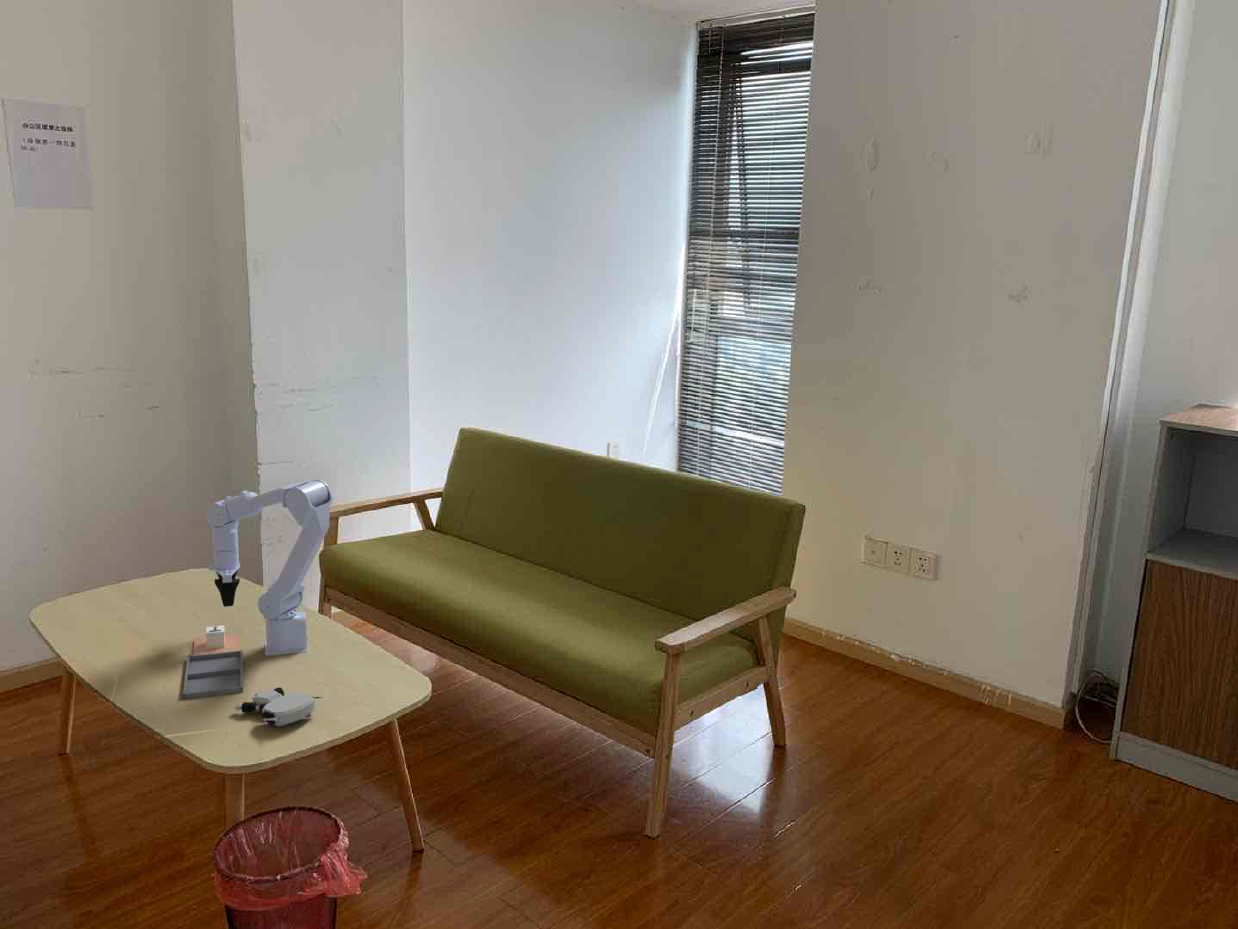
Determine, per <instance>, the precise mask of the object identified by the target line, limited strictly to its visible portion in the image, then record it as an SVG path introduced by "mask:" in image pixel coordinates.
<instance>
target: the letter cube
mask: <svg viewBox="0 0 1238 929" xmlns="http://www.w3.org/2000/svg"><path fill="white" fill-rule="evenodd" d="M225 633H226V628H225V624H224V625H216V626H215V625H212V626H206V629H205V638H206V644H207V649H211V648H221V647H225V636H226V634H225Z"/></svg>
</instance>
